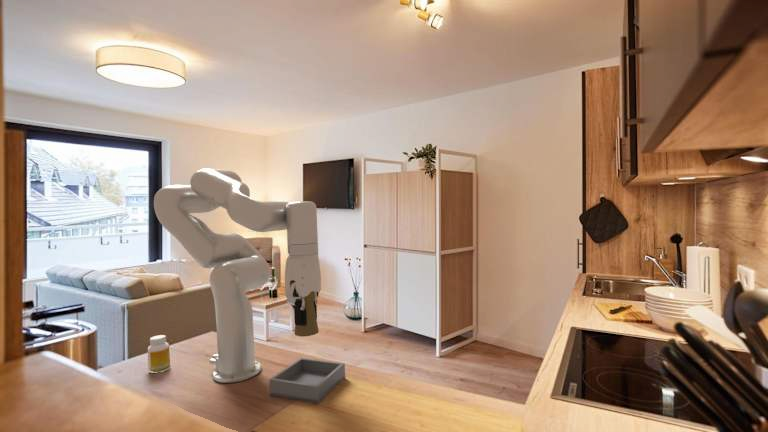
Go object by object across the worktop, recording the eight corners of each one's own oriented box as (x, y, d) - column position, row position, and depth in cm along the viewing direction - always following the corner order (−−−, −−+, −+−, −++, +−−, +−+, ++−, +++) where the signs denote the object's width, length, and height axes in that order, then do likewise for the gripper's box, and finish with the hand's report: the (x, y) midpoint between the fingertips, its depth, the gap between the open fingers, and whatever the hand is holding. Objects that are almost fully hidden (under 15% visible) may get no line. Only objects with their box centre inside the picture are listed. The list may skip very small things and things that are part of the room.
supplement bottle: (174, 368, 111) (172, 335, 110) (154, 375, 106) (152, 341, 106) (164, 364, 114) (162, 332, 113) (145, 371, 109) (143, 338, 109)
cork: (313, 336, 92) (311, 292, 92) (290, 336, 94) (288, 291, 93) (322, 328, 98) (320, 286, 98) (300, 328, 100) (298, 286, 99)
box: (270, 395, 92) (269, 379, 92) (301, 371, 105) (300, 357, 105) (318, 404, 88) (317, 387, 87) (345, 378, 100) (344, 363, 100)
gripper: (308, 246, 104) (311, 311, 105) (269, 254, 89) (273, 331, 89) (332, 246, 102) (335, 313, 102) (296, 255, 86) (300, 334, 87)
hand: (306, 321), depth 96 cm, fingers closed on cork, 4 cm apart
